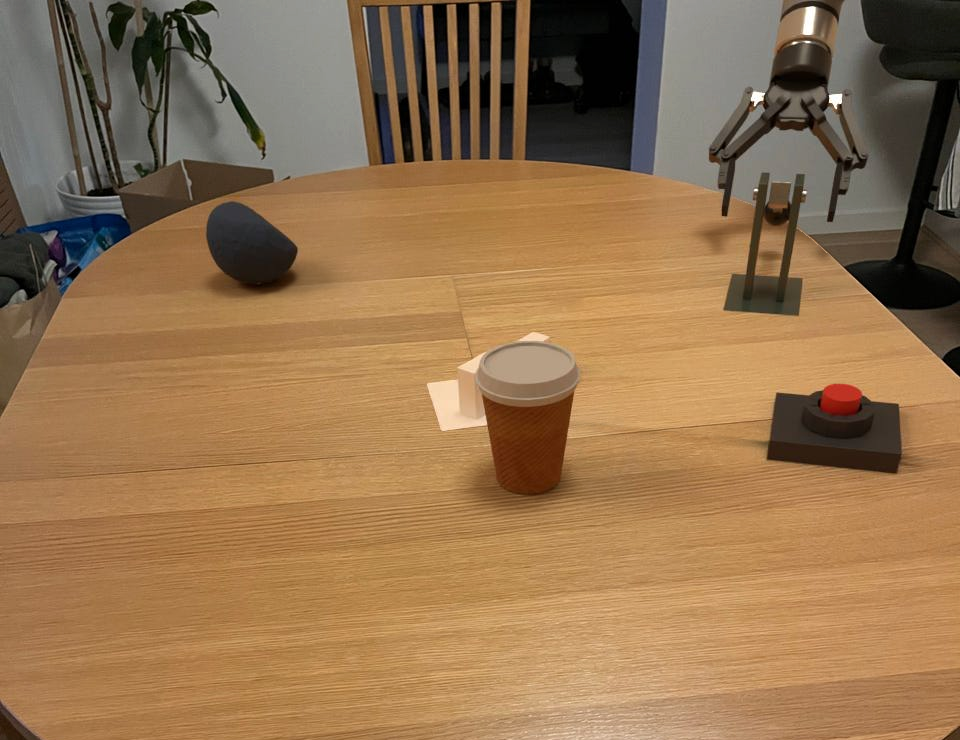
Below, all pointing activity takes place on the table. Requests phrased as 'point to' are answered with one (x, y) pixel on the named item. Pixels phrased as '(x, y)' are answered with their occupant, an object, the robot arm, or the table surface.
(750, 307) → the bracket
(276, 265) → the decorative stone
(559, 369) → the disposable coffee cup
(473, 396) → the napkin holder
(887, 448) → the button box
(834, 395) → the button
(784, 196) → the lever
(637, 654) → the table surface
